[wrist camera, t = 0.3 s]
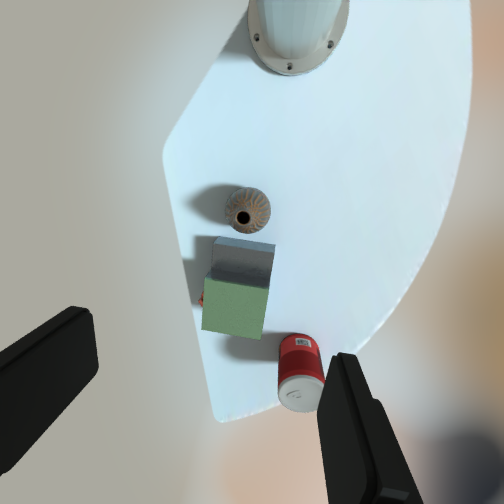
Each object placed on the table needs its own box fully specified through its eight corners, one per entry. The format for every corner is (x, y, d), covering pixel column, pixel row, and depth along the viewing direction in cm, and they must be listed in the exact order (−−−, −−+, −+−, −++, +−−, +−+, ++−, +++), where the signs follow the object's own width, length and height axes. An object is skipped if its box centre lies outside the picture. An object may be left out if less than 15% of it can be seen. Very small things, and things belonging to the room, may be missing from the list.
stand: (214, 235, 44) (200, 250, 36) (275, 244, 43) (273, 262, 36) (209, 302, 49) (196, 328, 41) (264, 312, 48) (260, 340, 41)
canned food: (271, 342, 50) (268, 388, 40) (306, 326, 48) (312, 370, 38) (291, 368, 52) (293, 419, 42) (325, 353, 50) (336, 403, 39)
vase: (274, 223, 42) (272, 238, 34) (235, 229, 43) (224, 245, 35) (268, 181, 40) (264, 187, 31) (226, 189, 41) (212, 196, 33)
